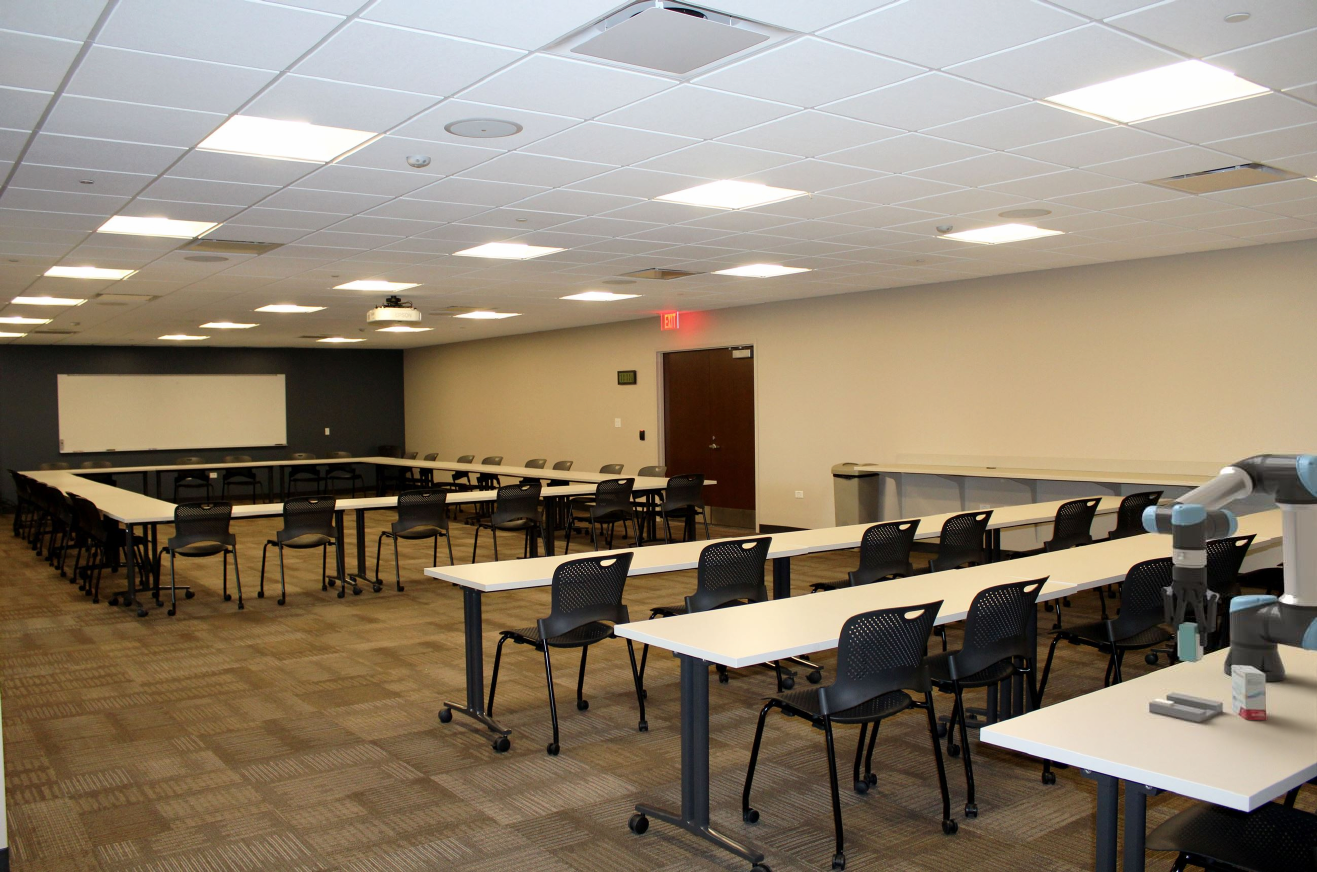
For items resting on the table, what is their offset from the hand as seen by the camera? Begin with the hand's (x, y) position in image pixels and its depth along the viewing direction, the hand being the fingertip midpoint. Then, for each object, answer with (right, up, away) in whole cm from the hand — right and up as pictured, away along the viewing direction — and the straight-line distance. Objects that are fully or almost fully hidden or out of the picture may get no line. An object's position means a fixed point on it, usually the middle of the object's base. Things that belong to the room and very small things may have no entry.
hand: (1190, 656), depth 236 cm
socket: (-1, -14, +1) cm, 14 cm away
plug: (0, -1, 0) cm, 1 cm away
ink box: (+13, -14, -2) cm, 20 cm away
